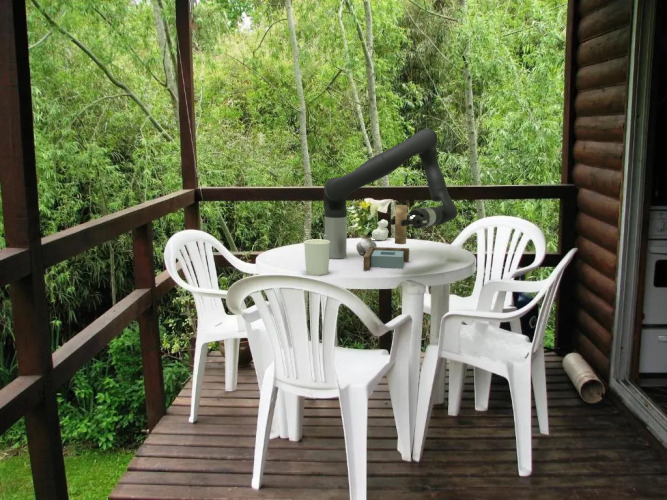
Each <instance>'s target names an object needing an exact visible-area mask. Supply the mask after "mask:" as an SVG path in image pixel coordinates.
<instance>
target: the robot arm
mask: <svg viewBox="0 0 667 500" xmlns="http://www.w3.org/2000/svg"><path fill="white" fill-rule="evenodd" d="M437 146H438V134H437V132H436V131H435V130H433V129H430V128H423V129H421V130H419V131H417V132H416V133H414V134H412V136H410V137H408V138H407V139H405V140H403V141H402V142H400V143H398V144H396V145H394V146H392V147H390V148H388V149H387V150H386V149H385V151H383V152H381V153H378V154H376V155H374V156H372V157H371V158H369V159H368V160H366V161H365V162H363V163H362V164H361V165H359V166H358V167H356V169H354V170H353V171H351V172H350V173H347V174H345V175H342V176H339V177H334V176H333V177H330V178H328V179H327V181H325V183H324V187H323V209H324V210H323V211H324V234H323V240H329V241H330V253H329V259H335V260H336V259H337V260H338V259H344V258H347V246H348V245H347V244H348V243H347V235H348V234H347V233H348V232H347V231H348V230H347V229H348V227H347V226H348V224H347V222H348V219H347V217H348V215H347V213H348V210H347V197H348V196H349V195H351V194H352V193H354V192H355V191H357V190H358V189H361V188H363V187H365V186H367V185H369V184H371V183H374V182H376V181H378V180H380V179H382V178H384V177H386V176H388V175H389V174H391V173H393V172H395V171H396V170H398V169H399V168H400V167H401V166H402V165H403V164H404V163H405V162H406V161H408V160H409V159H410V158H412V157H413V156H415V155H418V157H419V159H420V161H421V164H422V167H423V168H424V169H423V170H424V174H425V178H426V182H427V186H428V190H429V195H430V199H431V200H432V201H433V202H436V203H438V202H442V204H441V205H439V206H437V207H436V206H430V207H429V206H428V207H420V208H413V209H411V211H409V212H408V213H407V219H405V220H402V221H401V226H409V227H411V228H413V229H416V230H418V229H423V228H427V227H430V226H434V225H435V226H439V225H443V224H445V223H448V222H450V221H453V220H454V219H456V218H457V216H458V208H457V206H456V204H455V202H454V201H453V200H452V198H451V196H450V193H449V192H448V187H447V183H446V181H445V178H444V175H443V173H442V171H441V168H440V166H439V161H438V156H437ZM389 221H390V222H389V224H390V225H391V226H393V225H394V226H395V215H393V216H392V218H390V219H389Z"/></svg>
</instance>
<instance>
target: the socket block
mask: <svg viewBox="0 0 667 500" xmlns="http://www.w3.org/2000/svg"><path fill="white" fill-rule="evenodd" d="M404 263H405V262H404V251H386V250H374V252H373V254H372V256H371V267H380V268H379V269H396V268H398V270H401V269H403V265H404ZM371 267H370V268H371Z"/></svg>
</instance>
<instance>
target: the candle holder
mask: <svg viewBox="0 0 667 500" xmlns="http://www.w3.org/2000/svg"><path fill="white" fill-rule="evenodd" d="M303 247H304V259H305V273H306V274H308V275H312V276H323V275H327V274H328V273H329V267H330V258H329V253H330V241H329V240H324V238H323V239H320V238H319V239H317V238H315V239H307V240H304V241H303Z"/></svg>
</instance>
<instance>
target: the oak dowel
mask: <svg viewBox="0 0 667 500" xmlns="http://www.w3.org/2000/svg"><path fill="white" fill-rule="evenodd" d="M394 214H395V215H394V216H395V225H394V244H396V245H406V244H407V226H408V225H407V226H401V221H402V220H405V219H407V214H408V205H407V204H406V205H405V204H397V205H395V213H394Z"/></svg>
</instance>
